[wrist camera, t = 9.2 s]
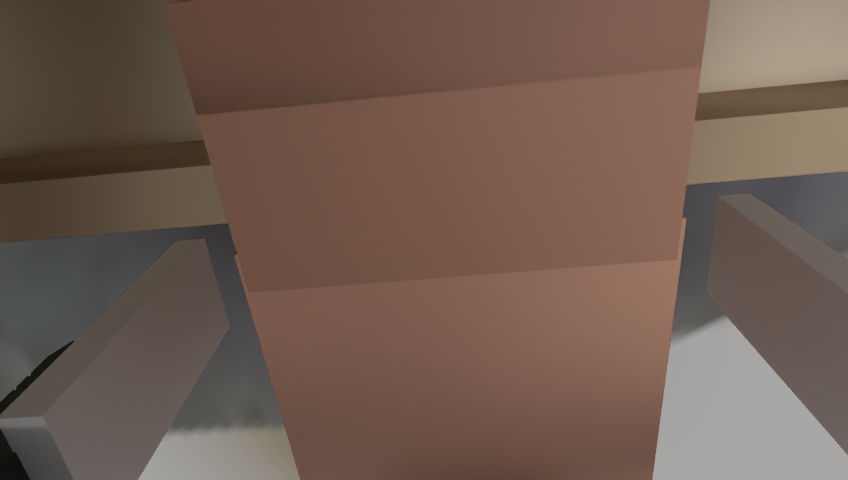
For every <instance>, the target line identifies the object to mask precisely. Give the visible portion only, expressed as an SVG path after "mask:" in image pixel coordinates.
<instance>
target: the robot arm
mask: <svg viewBox="0 0 848 480" xmlns="http://www.w3.org/2000/svg"><path fill="white" fill-rule="evenodd" d="M706 293H707V294H708V295H709V297H710V298H711V299H712V300H713V301H714V302H715V303H716V305H717V306H718V307H719V308H720V309H721V310H722V311H723V313H724V314H725V315H726V316H727V317H728V318H729V319H730V321H731V322H732V323H733V324H734V325H735V326H736V327H737V329H738V330H739V331H740V332H741V333H742V334H743V335H744V337H745V338H746V339H747V340H748V341H749V342H750V343H751V345H752V346H753V347H754V348H755V349H756V350H757V351H758V352H759V354H760V355H761V356H762V357H763V358H764V359H765V360H766V362H767V363H768V364H769V365H770V366H771V367H772V369H773V370H774V371H775V372H776V373H777V374H778V376H780V378H781V379H782V380H783V381H784V382H785V383H786V385H787V386H788V387H789V388H790V389H791V390H792V392H794V394H795V395H796V396H797V397H798V398H799V399H800V401H801V402H802V403H803V404H804V405H805V406H806V408H807V409H808V410H809V411H810V412H811V413H812V414H813V416H815V418H816V419H817V420H818V421H819V422H820V423H821V425H822V426H823V427H824V428H825V429H826V430H827V431H828V433H829V434H830V435H831V436H832V437H833V438H834V439H835V441H836V442H837V443H838V444H839V445H840V446H841V448H842V449H843V450H844V451H845V452H846V453H847V454H848V259H847V258H846V257H844V256H843V255H841V254H840V253H838V252H837V251H835V250H834V249H832V248H831V247H829V246H828V245H826V244H825V243H823V242H822V241H820V240H819V239H817V238H816V237H814V236H813V235H811V234H810V233H808V232H807V231H805V230H804V229H802V228H801V227H799V226H798V225H796V224H795V223H793V222H792V221H790V220H789V219H787V218H786V217H784V216H783V215H781V214H780V213H778V212H777V211H775V210H774V209H772V208H771V207H769V206H768V205H766V204H765V203H763V202H762V201H760V200H759V199H757V198H756V197H754V196H753V195H751V194H750V193H748V194H736V195H724V196H718V200H717V208H716V216H715V223H714V231H713V239H712V247H711V255H710V263H709V271H708V279H707V287H706ZM229 328H230V326H229V323H228V319H227V316H226V312H225V309H224V305H223V302H222V298H221V295H220V291H219V288H218V284H217V281H216V277H215V274H214V270H213V267H212V263H211V260H210V256H209V253H208V249H207V246H206V242H205V239H194V240H182V241H176V242H175V243H174V244H173V245H172V246H171V247H170V248H169V249H168V250H167V251H166V252H165V253H164V254H163V255H161V256H160V257H159V258H158V259H157V260H156V261H155V262H154V263H153V264H152V265H151V266H150V267H149V268H148V269H147V270H146V271H145V272H144V273H143V274H142V275H141V276H140V277H139V278H138V279H137V280H136V281H135V282H134V283H133V284H132V285H131V286H130V287H129V288H128V289H127V290H126V291H125V292H124V293H123V294H122V295H121V296H120V297H119V298H118V299H117V300H116V301H115V302H114V303H113V304H112V305H111V306H110V307H109V308H108V309H107V310H106V311H105V312H104V313H103V314H102V315H101V316H100V317H99V318H98V319H97V320H96V321H95V322H94V323H93V324H92V325H91V326H90V327H89V328H88V329H86V330H85V331H84V332H83V333H82V334H81V335H80V336H79V337H78V338H77V339H76V340H75V341H72V342H70V343H69V344H67V345H65V346H64V347H62V348H61V349H59V350H57V351H56V352H54V353H53V354H51V355H49V356H48V357H47V358H46V359H45V360H44V361H43V362H42V363H41V364H40V365H39V366H38V367H36V368H35V369H34V370H33V371H32V372H31V376H27V377H26V378H25V379H24V380H23V381H22V382H21V383H20V384H19V385H18V386H17V387H16V388H17V389H16V390H12V391H11V392H10V393H9V394H8V395H7V396H6V397H5V398H4V399H3V400H2V401H1V402H0V480H138V479H139V477H140V475H141V473H142V472H143V470H144V469H145V467H146V465H147V464H148V462H149V460H150V459H151V457H152V455H153V454H154V452H155V450H156V449H157V447H158V445H159V444H160V442H161V440H162V439H163V437H164V435H165V434H166V432H167V430H168V429H169V427H170V426H171V424H172V422H173V421H174V419H175V417H176V416H177V414H178V412H179V411H180V409H181V407H182V406H183V404H184V402H185V401H186V399H187V397H188V396H189V394H190V392H191V391H192V389H193V387H194V386H195V384H196V382H197V381H198V379H199V377H200V376H201V374H202V372H203V371H204V369H205V367H206V366H207V364H208V362H209V361H210V359H211V357H212V356H213V354H214V353H215V351H216V349H217V348H218V346H219V344H220V343H221V341H222V339H223V338H224V336H225V334H226V333H227V331H228V329H229Z"/></svg>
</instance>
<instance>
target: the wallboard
mask: <svg viewBox="0 0 848 480" xmlns="http://www.w3.org/2000/svg"><path fill="white" fill-rule="evenodd" d="M175 1H179V0H0V243H2V242H14V241H26V240H37V239H49V238H61V237H73V236H85V235H97V234H108V233H120V232H132V231H144V230H156V229H168V228H180V227H191V226H203V225H215V224H227V223H228V222H227V218H226V215H225V211H224V208H223V204H222V201H221V198H220V194H219V191H218V187H217V184H216V181H215V177H214V174H213V170H212V167H211V164H210V160H209V157H208V153H207V150H206V146H205V143H204V140H203V136H202V133H201V129H200V126H199V123H198V119H197V116H196V112H195V109H194V106H193V102H192V99H191V95H190V92H189V88H188V85H187V82H186V78H185V75H184V71H183V68H182V65H181V61H180V58H179V54H178V51H177V47H176V44H175V41H174V37H173V34H172V30H171V27H170V24H169V20H168V17H167V13H166V10H165V7H164V4H166V3H171V2H175ZM843 171H848V0H710V5H709V13H708V21H707V29H706V36H705V44H704V52H703V60H702V68H701V75H700V83H699V91H698V99H697V107H696V115H695V122H694V130H693V138H692V146H691V154H690V161H689V169H688V177H687V185H689V184H701V183H712V182H724V181H736V180H748V179H760V178H772V177H783V176H795V175H807V174H819V173H831V172H843Z"/></svg>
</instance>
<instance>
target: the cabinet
mask: <svg viewBox="0 0 848 480" xmlns="http://www.w3.org/2000/svg"><path fill="white" fill-rule="evenodd" d="M709 5H710V0H179V1H175V2H171V3H166V4H164V7H165V10H166V13H167V17H168V20H169V24H170V27H171V30H172V34H173V37H174V41H175V44H176V47H177V51H178V54H179V58H180V61H181V65H182V68H183V71H184V75H185V78H186V82H187V85H188V88H189V92H190V95H191V99H192V102H193V106H194V109H195V112H196V116H197V119H198V123H199V126H200V129H201V133H202V136H203V140H204V143H205V146H206V150H207V153H208V157H209V160H210V164H211V167H212V170H213V174H214V177H215V181H216V184H217V187H218V191H219V194H220V198H221V201H222V204H223V208H224V211H225V215H226V218H227V222H228V225H229V228H230V232H231V235H232V239H233V242H234V245H235V249H236V252H235V254H234V257H235V260H236V264H237V267H238V271H239V274H240V277H241V281H242V284H243V287H244V291H245V294H246V298H247V301H248V304H249V308H250V311H251V314H252V318H253V321H254V325H255V328H256V331H257V335H258V338H259V341H260V345H261V348H262V352H263V355H264V358H265V362H266V365H267V368H268V372H269V375H270V379H271V382H272V385H273V389H274V392H275V395H276V399H277V402H278V406H279V409H280V412H281V416H282V419H283V422H284V426H285V429H286V433H287V436H288V439H289V443H290V446H291V449H292V453H293V456H294V459H295V463H296V466H297V469H298V473H299V476H300V479H301V480H652V477H653V469H654V462H655V454H656V447H657V439H658V431H659V423H660V416H661V408H662V401H663V394H664V386H665V377H666V371H667V363H668V356H669V348H670V341H671V333H672V325H673V318H674V310H675V303H676V295H677V288H678V280H679V272H680V265H681V257H682V250H683V242H684V235H685V227H686V219H687V218H686V217H685V216H684V215H683V208H684V201H685V193H686V185H687V177H688V169H689V161H690V154H691V146H692V138H693V130H694V122H695V115H696V107H697V99H698V91H699V83H700V75H701V68H702V60H703V52H704V44H705V36H706V29H707V21H708V13H709Z"/></svg>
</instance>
